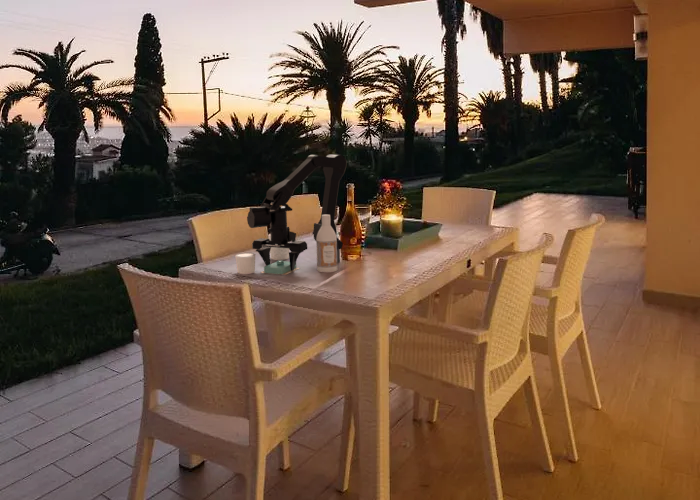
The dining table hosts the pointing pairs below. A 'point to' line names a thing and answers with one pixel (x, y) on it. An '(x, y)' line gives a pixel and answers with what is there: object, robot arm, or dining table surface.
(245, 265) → the cream round container
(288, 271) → the mat
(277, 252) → the white cup
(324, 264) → the bath foam
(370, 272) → the dining table surface
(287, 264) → the lid
